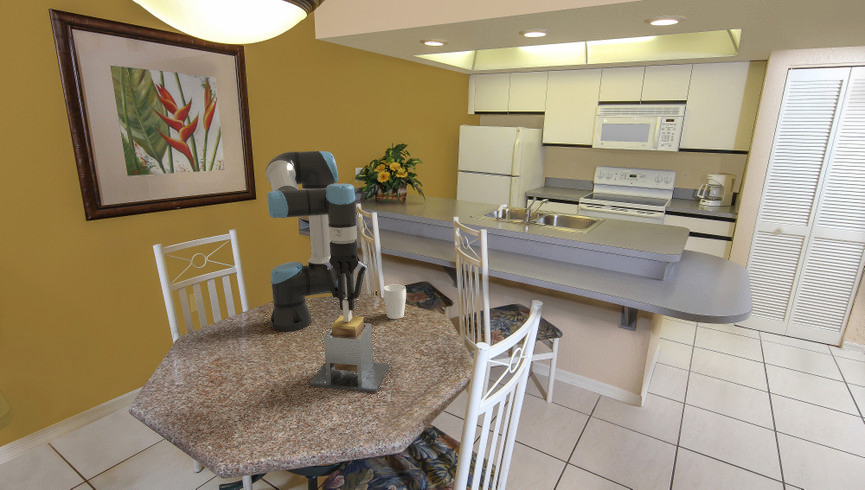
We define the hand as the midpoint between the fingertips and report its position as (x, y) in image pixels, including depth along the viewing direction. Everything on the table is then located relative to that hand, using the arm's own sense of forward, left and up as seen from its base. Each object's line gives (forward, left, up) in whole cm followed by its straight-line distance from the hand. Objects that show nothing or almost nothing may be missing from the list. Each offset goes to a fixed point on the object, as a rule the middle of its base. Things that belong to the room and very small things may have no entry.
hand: (347, 320), depth 123 cm
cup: (+2, +46, -18) cm, 50 cm away
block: (0, 0, -14) cm, 14 cm away
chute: (0, 0, -18) cm, 18 cm away
